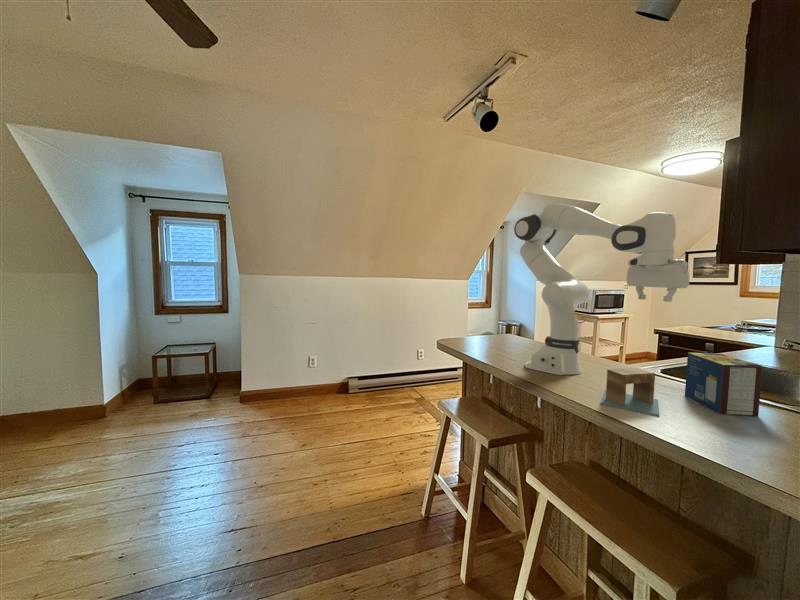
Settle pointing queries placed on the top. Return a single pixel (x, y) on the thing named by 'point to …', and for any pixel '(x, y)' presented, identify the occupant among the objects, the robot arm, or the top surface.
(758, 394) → the protein box
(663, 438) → the top surface
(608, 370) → the brown block
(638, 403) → the rubber mat
